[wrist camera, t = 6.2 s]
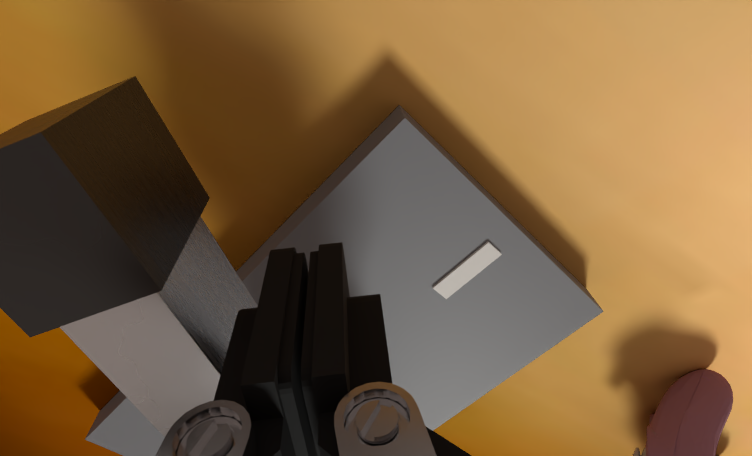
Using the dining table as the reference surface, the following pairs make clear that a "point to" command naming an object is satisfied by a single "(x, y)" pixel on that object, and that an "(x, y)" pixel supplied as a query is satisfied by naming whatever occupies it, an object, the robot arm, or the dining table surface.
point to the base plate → (417, 277)
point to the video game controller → (690, 416)
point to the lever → (117, 249)
